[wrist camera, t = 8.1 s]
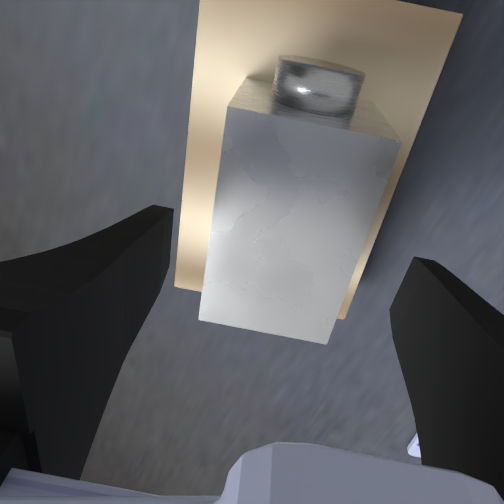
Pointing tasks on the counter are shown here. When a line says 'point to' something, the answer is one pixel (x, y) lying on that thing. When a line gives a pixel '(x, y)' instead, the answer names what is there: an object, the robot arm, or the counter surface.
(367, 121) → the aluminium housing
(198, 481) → the counter surface
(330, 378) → the counter surface
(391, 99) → the wood stand
